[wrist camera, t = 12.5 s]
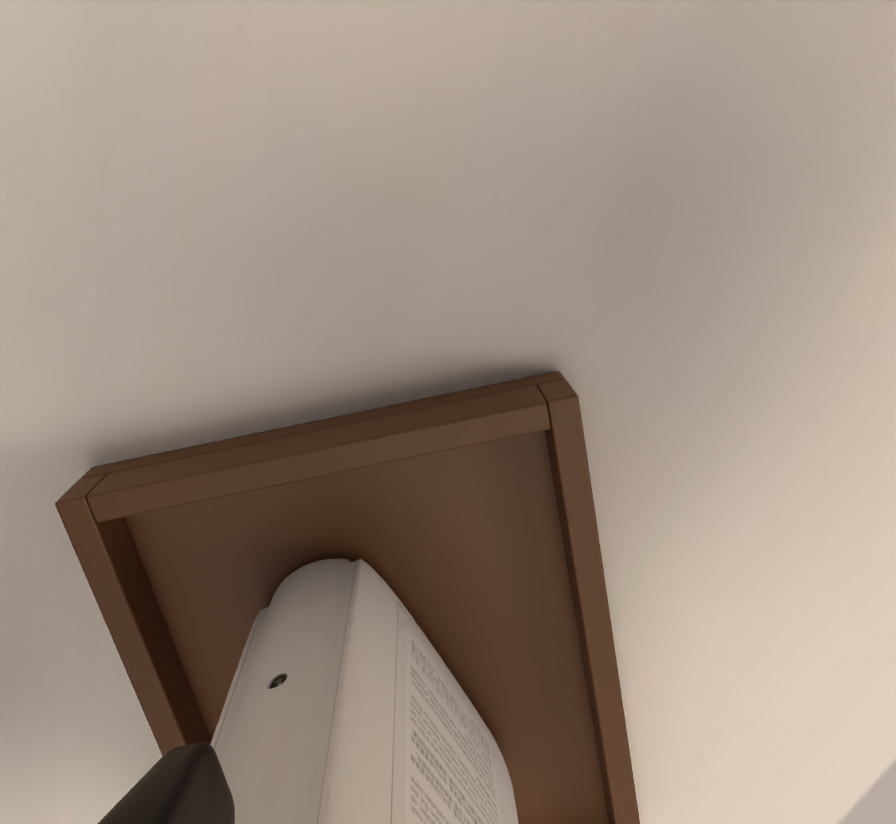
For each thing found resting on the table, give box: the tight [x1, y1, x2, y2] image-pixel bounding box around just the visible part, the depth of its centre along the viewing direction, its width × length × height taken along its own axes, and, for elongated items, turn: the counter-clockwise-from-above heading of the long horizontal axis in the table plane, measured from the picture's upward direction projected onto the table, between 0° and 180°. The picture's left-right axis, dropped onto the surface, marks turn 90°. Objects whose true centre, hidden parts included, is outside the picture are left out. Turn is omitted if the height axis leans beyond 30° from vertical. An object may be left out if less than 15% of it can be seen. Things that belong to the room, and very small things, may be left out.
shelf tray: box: [55, 371, 640, 824], centre depth 22 cm, size 14×18×2 cm
